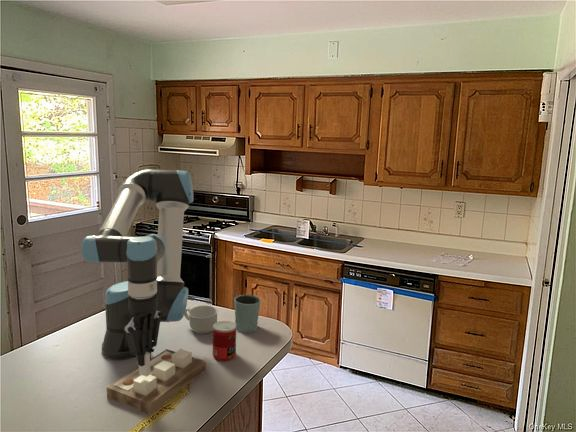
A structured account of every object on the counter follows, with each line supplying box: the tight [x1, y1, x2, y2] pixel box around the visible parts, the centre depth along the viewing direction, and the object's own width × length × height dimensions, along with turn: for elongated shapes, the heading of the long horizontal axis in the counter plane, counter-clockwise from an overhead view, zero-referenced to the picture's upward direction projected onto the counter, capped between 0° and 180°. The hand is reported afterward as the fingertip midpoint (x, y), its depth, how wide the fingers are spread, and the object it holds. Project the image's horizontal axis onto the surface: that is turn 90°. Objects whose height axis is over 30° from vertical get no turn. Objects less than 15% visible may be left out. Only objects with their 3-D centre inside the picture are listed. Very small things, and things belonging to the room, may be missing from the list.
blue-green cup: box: [233, 294, 261, 334], centre depth 167 cm, size 10×10×12 cm
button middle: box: [153, 360, 175, 382], centre depth 128 cm, size 4×4×4 cm
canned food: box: [212, 320, 237, 362], centre depth 145 cm, size 8×8×11 cm
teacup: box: [183, 304, 218, 335], centre depth 164 cm, size 14×11×8 cm
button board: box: [106, 348, 207, 415], centre depth 129 cm, size 16×25×3 cm, turn 155°
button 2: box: [172, 348, 193, 369], centre depth 135 cm, size 4×4×4 cm
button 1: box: [133, 375, 157, 396], centre depth 121 cm, size 4×4×4 cm
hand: (144, 374), depth 120 cm, fingers closed
